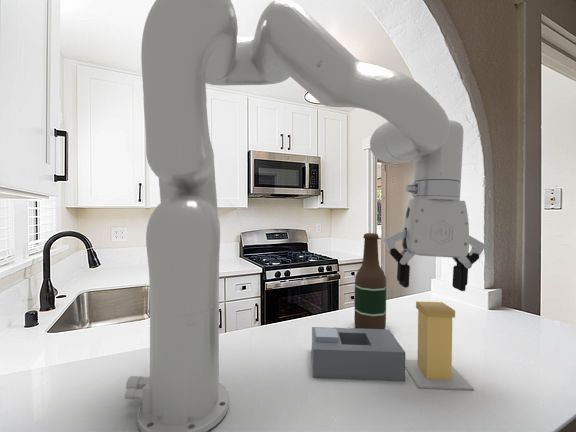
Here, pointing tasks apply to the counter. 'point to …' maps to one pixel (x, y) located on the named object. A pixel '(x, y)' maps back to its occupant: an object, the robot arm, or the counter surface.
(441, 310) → the plug
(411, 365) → the mat
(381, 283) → the beer bottle
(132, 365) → the counter surface
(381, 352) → the grey block with hole
